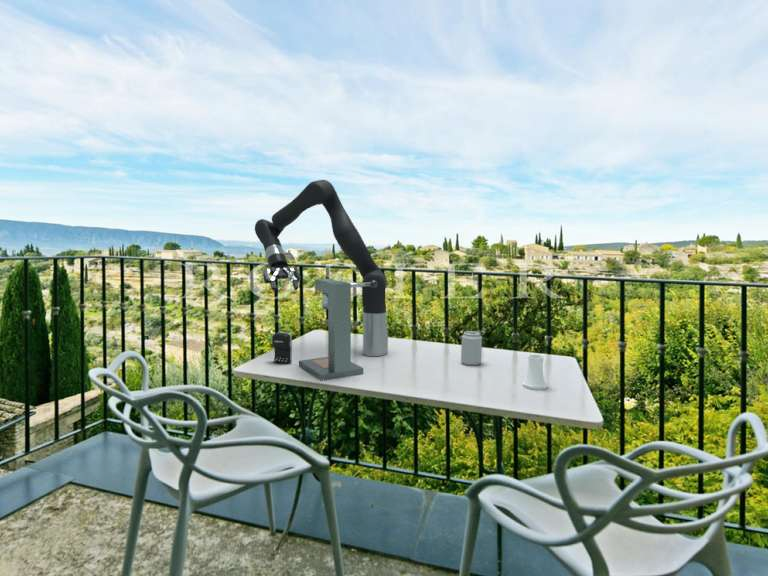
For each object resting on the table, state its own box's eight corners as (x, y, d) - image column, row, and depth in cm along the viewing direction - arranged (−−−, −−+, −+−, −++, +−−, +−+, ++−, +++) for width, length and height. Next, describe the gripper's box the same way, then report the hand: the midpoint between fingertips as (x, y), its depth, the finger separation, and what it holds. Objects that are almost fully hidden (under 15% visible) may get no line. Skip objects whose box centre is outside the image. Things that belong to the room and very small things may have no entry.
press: (363, 356, 193) (364, 276, 189) (390, 369, 176) (391, 281, 172) (298, 366, 179) (297, 279, 176) (320, 380, 162) (320, 284, 159)
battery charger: (271, 363, 183) (270, 333, 181) (276, 360, 186) (276, 331, 185) (287, 365, 180) (286, 334, 179) (292, 362, 184) (292, 332, 182)
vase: (541, 382, 163) (543, 353, 162) (550, 390, 155) (551, 359, 154) (519, 382, 162) (520, 353, 161) (526, 390, 155) (528, 359, 154)
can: (483, 362, 187) (484, 331, 186) (478, 367, 180) (479, 335, 179) (464, 360, 190) (464, 329, 189) (458, 364, 183) (459, 333, 182)
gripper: (261, 252, 194) (270, 284, 185) (295, 252, 201) (305, 282, 193) (257, 264, 199) (266, 296, 191) (290, 264, 206) (300, 294, 198)
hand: (286, 289), depth 192 cm, fingers open, 8 cm apart
